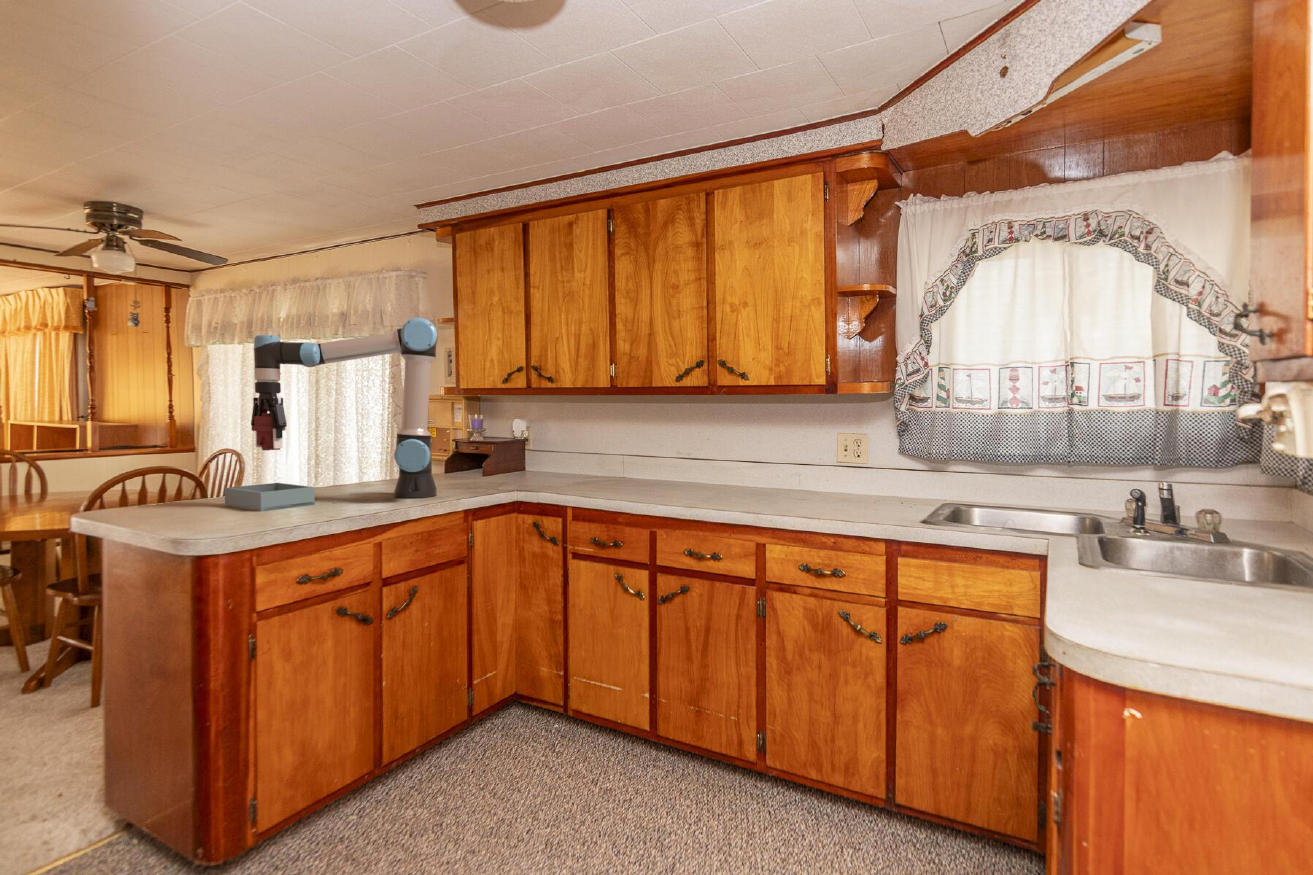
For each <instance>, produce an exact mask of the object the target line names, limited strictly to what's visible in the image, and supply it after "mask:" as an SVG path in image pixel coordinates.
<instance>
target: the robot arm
mask: <svg viewBox="0 0 1313 875" xmlns="http://www.w3.org/2000/svg"><path fill="white" fill-rule="evenodd" d="M437 343H438V332H437V329H436V326H435V324H433V323H432V322H431V321H430V320H428V319H425V318H423V317H415V318H411V319H409V320H407V321H406V322H405V323H404V324H403V326H402V327H401V328H396V329H395V330H394V332H387V333H380V334H374V335H367V336H366V335H365V336H361V337H360V336H359V337H353V338H348V339H339V340H334V341H327V342H321V343H315V342H308V341H307V342H299V341H295V342H294V341H293V342H289V341H281V339H280V336H278V335H273V334H271V335H269V334H257V335H256V336H255V337H254V342H253V356H254V360H253V361H254V368H253V369H254V381H255V383H254V392H255V393H256V394H258V395H259V396H258V397H253V406H252V412H251V413H252V414H251V419H250V420H251V421H250V426H254V417H255V416H262V413H270V415H271V417H272V421H273V424H274V427H273V448H274V449H276V448H280V449H284V448H283V445H284V444H283V431H282V429H283V428H284V427H287V419H286V414H285V408H284V397H278V395H277V394H281V392H282V391H281V385H282V384H281V383H280V381H281V374H282V373H281V365H297V366H298V365H299V366H304V367H305V368H314V367H317V366H321V365H327V364H334V363H340V362H347V361H354V360H359V359H365V358H372V357H378V356H385V355H390V354H400V356H401V357H402V358H403V359H404V361H405V362H404V378H403V379H404V380H403V399H402V416H401V418H402V420H401V429H399V430H398V431H397V432H396V446H395V450H394V453H393V454H394V455H393V456H394V460H395V463H396V465H397V466H398V477H397V480H396V481H397V482H396V484H395V488H394V490H393V491H394V495H393V496H394V497H395V498H401V499H416V498H418V499H419V498H420V499H421V498H430V497H435V496H437V495H438V489H437V487H436V483H435V480H434V477H433V472H432V471H433V470H432V469H433V467H432V466H433V464H432V463H433V458H432V456H433V455H432V454H433V452H432V451H433V450H432V445H433V441H432V433H431V432H430V431H428V423H429V422H428V420H429V405H430V404H429V402H430V401H429V400H430V386H431V385H430V384H431V367H432V366H431V365H432V364H431V363H432V362H433V361H434V360H436V357H437V355H436V354H437ZM254 432H255V448H262V446H259V445H257V438H258V437H257V431H254Z"/></svg>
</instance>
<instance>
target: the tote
mask: <svg viewBox="0 0 1313 875" xmlns="http://www.w3.org/2000/svg"><path fill="white" fill-rule="evenodd" d="M313 505H315V486H308V485H300V484H292V483H283V482H272V483H263V484H261V483H260V484H251V485H250V484H249V485H239V486H230V487H229V486H227V487H224V506H227V507H231V508H237V509H238V508H239V509H244V510H251V511H255V512H266V511H274V510H284V509H290V508H291V509H292V508H297V507H298V508H299V507H306V506H307V507H308V506H313Z"/></svg>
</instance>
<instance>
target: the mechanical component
mask: <svg viewBox="0 0 1313 875" xmlns="http://www.w3.org/2000/svg"><path fill="white" fill-rule="evenodd" d="M250 426H251V425H250ZM273 427H274V424H273V421H272V417H271V415H270V412H267V413H262V416H255V417H254V426H251V431H253V432H255V431H257V437H258V438H257V445H259V446H262V447H261V450H262V451H276V450H277V451H278V450H281V448H276V449H274V448H273ZM286 427H287V426H286ZM286 427H284V428H283V429H282V432H283V431H286V429H287V428H286Z"/></svg>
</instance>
